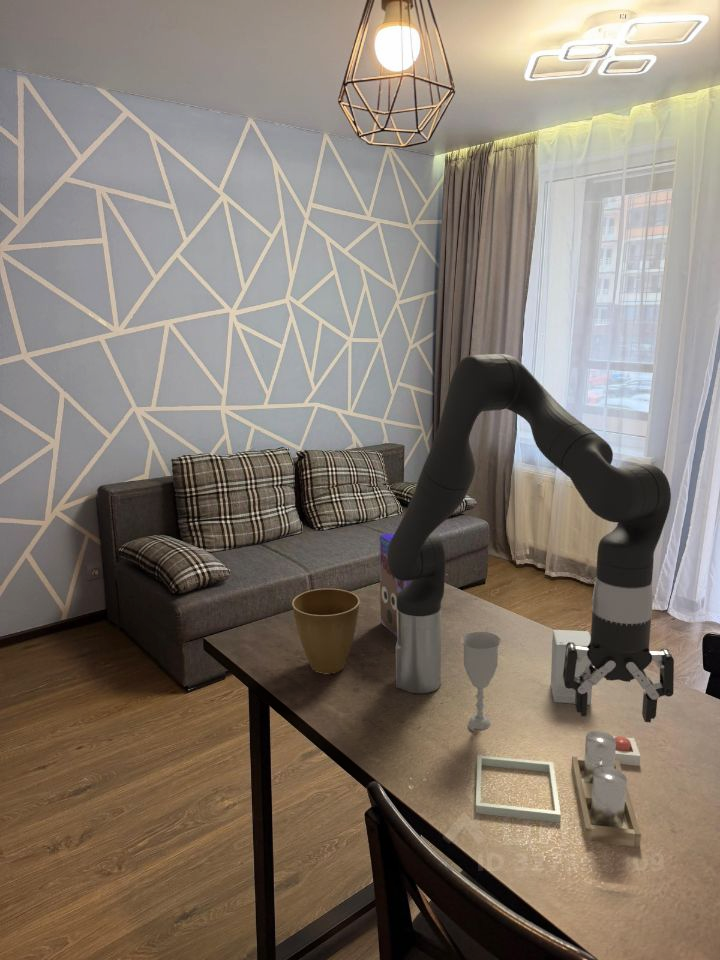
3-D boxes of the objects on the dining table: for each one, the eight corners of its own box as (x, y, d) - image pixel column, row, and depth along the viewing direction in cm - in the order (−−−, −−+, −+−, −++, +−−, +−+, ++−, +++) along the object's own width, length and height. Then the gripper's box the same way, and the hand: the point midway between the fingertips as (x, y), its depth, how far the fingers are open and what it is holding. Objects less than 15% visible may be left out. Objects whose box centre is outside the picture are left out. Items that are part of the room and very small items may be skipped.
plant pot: (283, 677, 144) (279, 609, 140) (313, 647, 157) (310, 585, 154) (345, 689, 138) (343, 618, 135) (371, 657, 152) (369, 592, 148)
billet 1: (585, 791, 103) (588, 746, 102) (581, 773, 108) (583, 730, 106) (615, 794, 103) (618, 749, 101) (610, 776, 107) (613, 732, 105)
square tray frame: (475, 819, 100) (475, 805, 99) (477, 768, 112) (477, 755, 111) (560, 829, 97) (560, 814, 97) (552, 775, 109) (553, 762, 109)
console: (607, 768, 111) (608, 753, 110) (603, 750, 115) (603, 735, 115) (639, 771, 110) (640, 755, 109) (633, 753, 114) (634, 738, 114)
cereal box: (380, 623, 170) (378, 534, 165) (397, 619, 172) (395, 532, 167) (414, 650, 154) (413, 554, 149) (431, 646, 156) (431, 550, 151)
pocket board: (584, 847, 94) (585, 828, 93) (571, 773, 110) (572, 756, 109) (639, 853, 92) (641, 834, 92) (617, 777, 108) (618, 760, 108)
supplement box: (591, 705, 129) (594, 646, 127) (553, 702, 131) (555, 644, 128) (586, 686, 137) (589, 630, 134) (550, 683, 138) (552, 628, 135)
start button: (614, 757, 111) (615, 744, 111) (611, 748, 114) (612, 735, 113) (630, 758, 111) (631, 746, 110) (627, 749, 113) (628, 737, 113)
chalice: (475, 743, 118) (476, 652, 114) (453, 725, 124) (453, 637, 120) (506, 732, 122) (508, 642, 118) (484, 714, 127) (485, 628, 124)
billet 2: (592, 833, 95) (596, 785, 93) (588, 811, 99) (591, 765, 97) (625, 837, 94) (629, 788, 92) (619, 815, 98) (623, 768, 96)
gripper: (570, 618, 87) (564, 727, 90) (685, 624, 84) (675, 737, 88) (564, 596, 94) (559, 698, 98) (670, 601, 91) (661, 706, 95)
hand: (614, 716), depth 93 cm, fingers open, 8 cm apart
